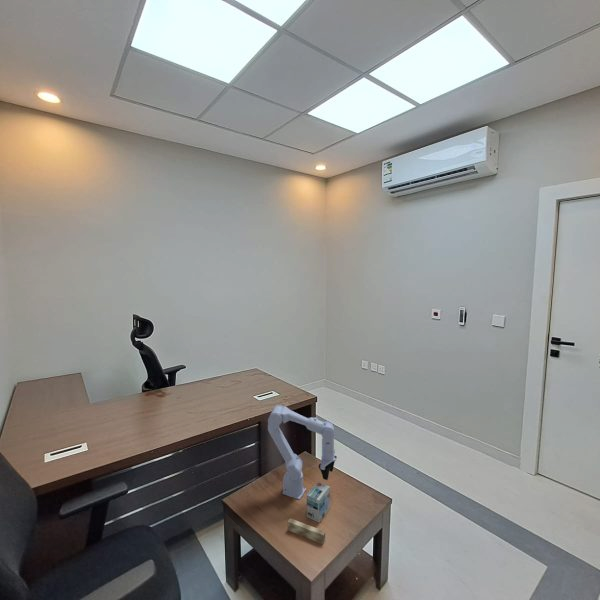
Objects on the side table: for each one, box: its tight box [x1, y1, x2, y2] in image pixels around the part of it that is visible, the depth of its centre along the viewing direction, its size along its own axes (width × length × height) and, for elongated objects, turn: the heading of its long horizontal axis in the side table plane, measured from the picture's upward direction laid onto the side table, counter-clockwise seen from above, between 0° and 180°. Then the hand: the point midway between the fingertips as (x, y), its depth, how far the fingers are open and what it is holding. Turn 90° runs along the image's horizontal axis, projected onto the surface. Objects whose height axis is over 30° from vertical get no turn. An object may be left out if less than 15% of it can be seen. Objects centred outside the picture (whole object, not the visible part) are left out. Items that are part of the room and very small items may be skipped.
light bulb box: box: [306, 481, 331, 524], centre depth 143 cm, size 11×7×11 cm, turn 148°
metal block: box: [287, 517, 326, 545], centre depth 131 cm, size 16×2×4 cm, turn 64°
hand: (327, 474), depth 153 cm, fingers open, 6 cm apart
